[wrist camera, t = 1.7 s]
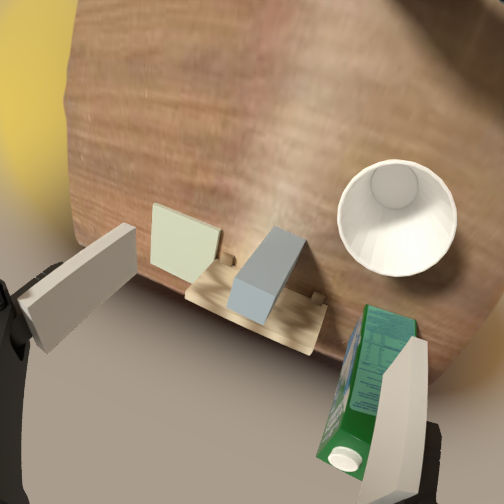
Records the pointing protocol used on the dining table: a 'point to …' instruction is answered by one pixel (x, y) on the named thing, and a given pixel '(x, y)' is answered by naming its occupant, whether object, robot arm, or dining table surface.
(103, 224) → the dining table surface
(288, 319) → the birch screen
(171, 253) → the mat
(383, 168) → the cup
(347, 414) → the milk carton
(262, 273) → the block
